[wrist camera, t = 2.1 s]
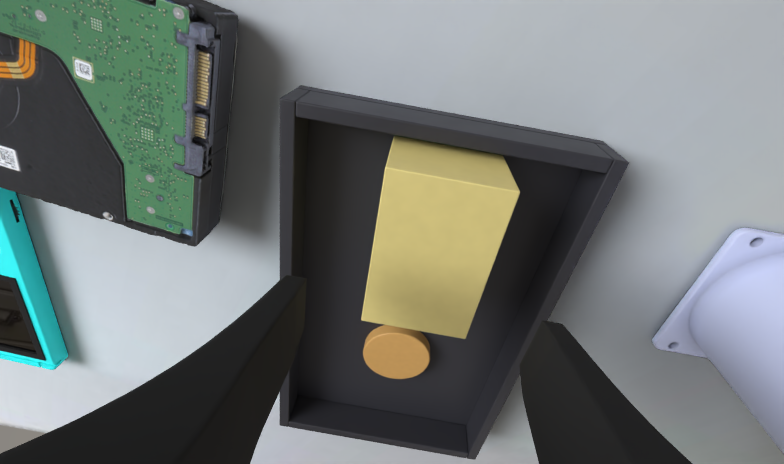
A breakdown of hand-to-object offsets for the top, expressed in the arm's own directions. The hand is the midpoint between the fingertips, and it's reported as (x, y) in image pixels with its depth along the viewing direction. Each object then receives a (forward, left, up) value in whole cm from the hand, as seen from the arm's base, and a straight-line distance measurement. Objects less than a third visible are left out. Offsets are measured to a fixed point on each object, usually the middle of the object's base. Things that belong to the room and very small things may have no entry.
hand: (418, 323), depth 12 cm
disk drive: (+17, -3, -8) cm, 19 cm away
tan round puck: (0, +10, -8) cm, 12 cm away
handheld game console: (+27, +9, -8) cm, 29 cm away
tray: (0, +6, -8) cm, 10 cm away
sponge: (0, 0, -8) cm, 8 cm away
